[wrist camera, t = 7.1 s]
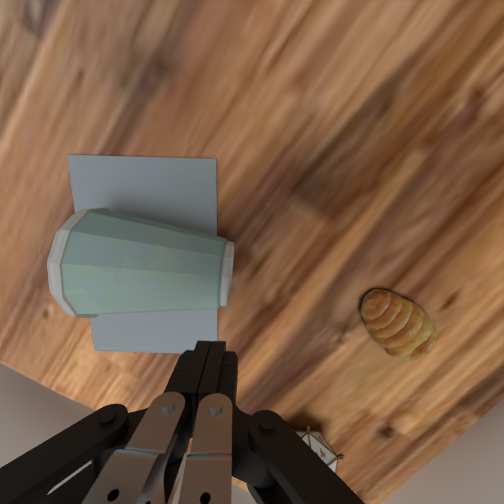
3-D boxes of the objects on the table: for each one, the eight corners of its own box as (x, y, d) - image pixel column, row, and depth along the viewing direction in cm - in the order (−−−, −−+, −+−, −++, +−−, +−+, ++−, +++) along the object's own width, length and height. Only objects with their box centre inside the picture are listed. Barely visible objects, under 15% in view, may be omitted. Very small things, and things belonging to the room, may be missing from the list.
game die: (292, 401, 39) (305, 414, 30) (340, 441, 37) (369, 467, 28) (259, 458, 36) (261, 492, 27) (309, 504, 34) (330, 557, 25)
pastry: (343, 310, 32) (355, 326, 28) (384, 273, 30) (402, 284, 27) (391, 354, 33) (408, 375, 29) (432, 320, 32) (455, 337, 28)
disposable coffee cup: (235, 214, 19) (38, 189, 19) (218, 354, 19) (18, 332, 19) (239, 229, 30) (113, 213, 29) (228, 319, 30) (101, 304, 29)
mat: (69, 155, 27) (67, 154, 27) (216, 159, 27) (216, 158, 27) (96, 348, 33) (94, 350, 33) (217, 352, 33) (217, 354, 32)
